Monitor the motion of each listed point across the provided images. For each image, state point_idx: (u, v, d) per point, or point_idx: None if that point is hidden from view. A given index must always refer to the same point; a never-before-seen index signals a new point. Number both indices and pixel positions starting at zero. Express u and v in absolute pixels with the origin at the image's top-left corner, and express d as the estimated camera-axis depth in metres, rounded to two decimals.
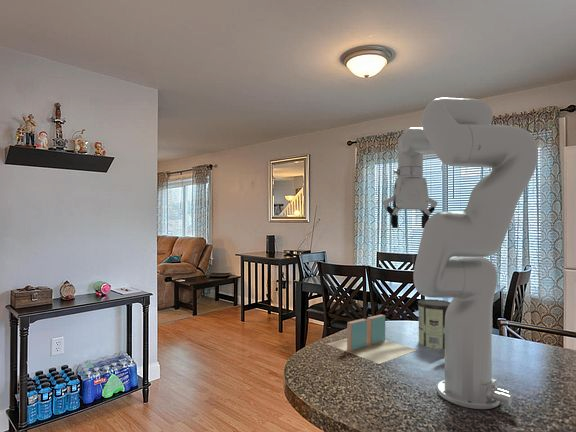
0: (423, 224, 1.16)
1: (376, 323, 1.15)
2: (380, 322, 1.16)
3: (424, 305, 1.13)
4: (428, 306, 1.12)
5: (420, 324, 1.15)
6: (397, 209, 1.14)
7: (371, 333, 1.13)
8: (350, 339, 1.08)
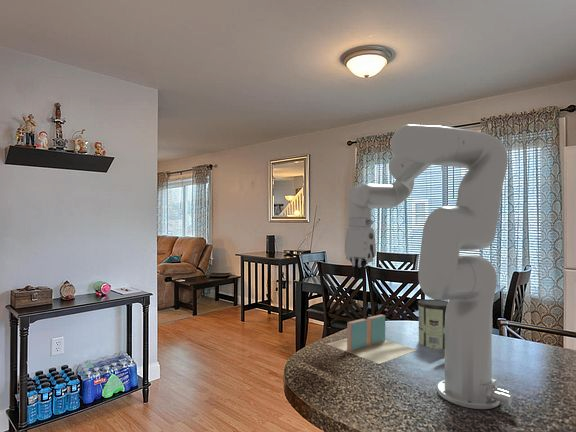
0: None
1: (376, 323, 1.15)
2: (380, 322, 1.16)
3: (424, 305, 1.13)
4: (428, 306, 1.12)
5: (420, 324, 1.15)
6: None
7: (371, 333, 1.13)
8: (350, 339, 1.08)
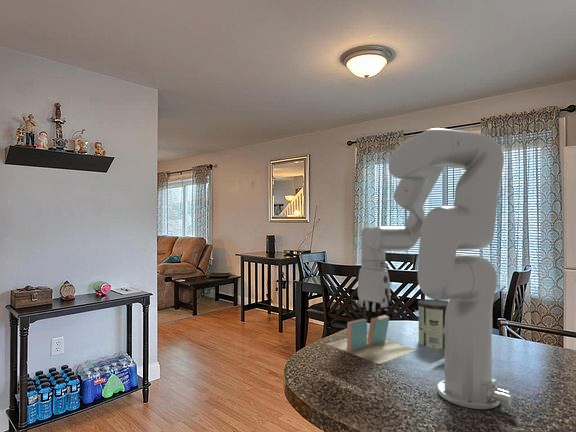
0: None
1: (379, 324, 1.14)
2: (383, 323, 1.15)
3: (424, 305, 1.13)
4: (428, 306, 1.12)
5: (420, 324, 1.15)
6: None
7: (372, 334, 1.13)
8: (350, 339, 1.08)
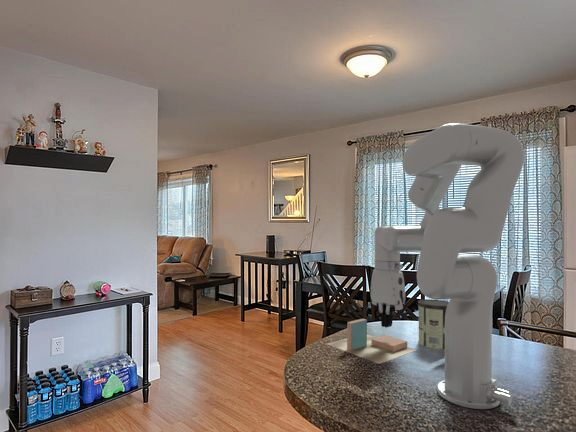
0: None
1: None
2: None
3: (424, 305, 1.13)
4: (428, 306, 1.12)
5: (420, 324, 1.15)
6: None
7: (380, 347, 1.11)
8: (350, 339, 1.08)
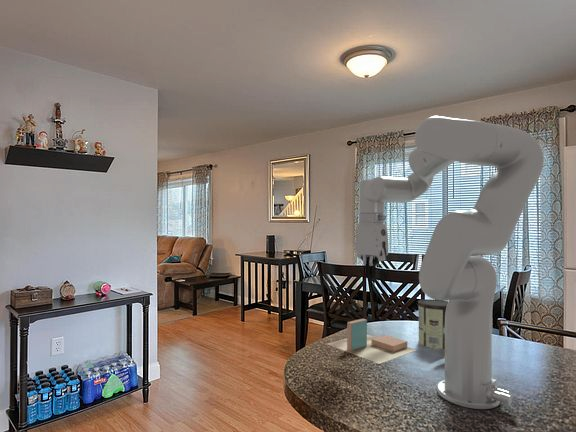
0: None
1: None
2: None
3: (424, 305, 1.13)
4: (428, 306, 1.12)
5: (420, 324, 1.15)
6: None
7: (380, 347, 1.11)
8: (350, 339, 1.08)
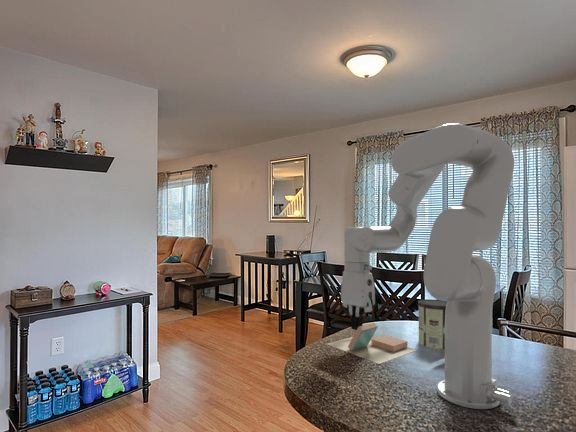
0: None
1: None
2: None
3: (424, 305, 1.13)
4: (428, 306, 1.12)
5: (420, 324, 1.15)
6: None
7: (380, 347, 1.11)
8: (354, 342, 1.07)
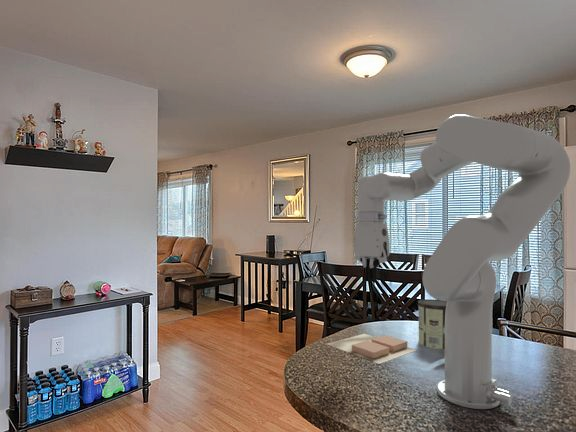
0: None
1: None
2: None
3: (424, 305, 1.13)
4: (428, 306, 1.12)
5: (420, 324, 1.15)
6: None
7: None
8: (360, 352, 1.05)
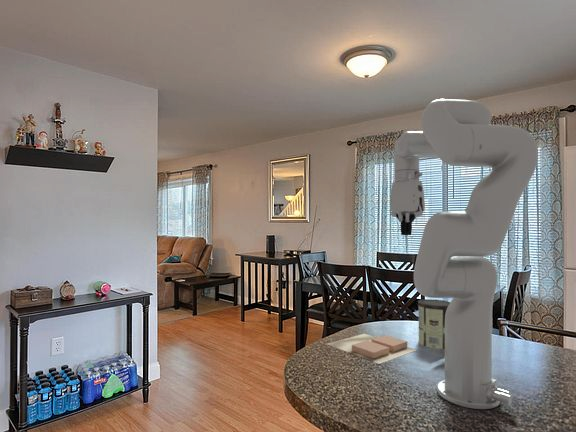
0: None
1: None
2: None
3: (424, 305, 1.13)
4: (428, 306, 1.12)
5: (420, 324, 1.15)
6: None
7: None
8: (360, 352, 1.05)
